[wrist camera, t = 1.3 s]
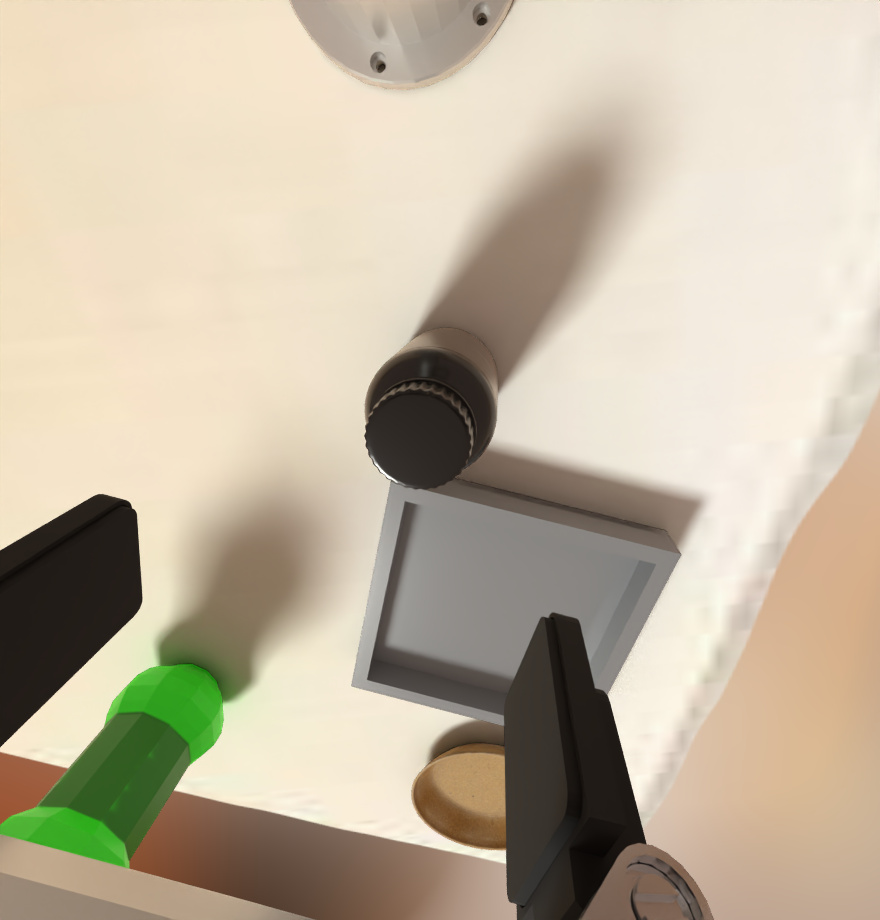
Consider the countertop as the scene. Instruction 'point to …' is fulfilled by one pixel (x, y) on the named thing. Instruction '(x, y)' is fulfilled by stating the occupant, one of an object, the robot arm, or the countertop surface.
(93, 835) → the plastic bottle
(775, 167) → the countertop surface
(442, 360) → the supplement bottle
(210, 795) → the countertop surface
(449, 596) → the tray
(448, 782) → the plant saucer
